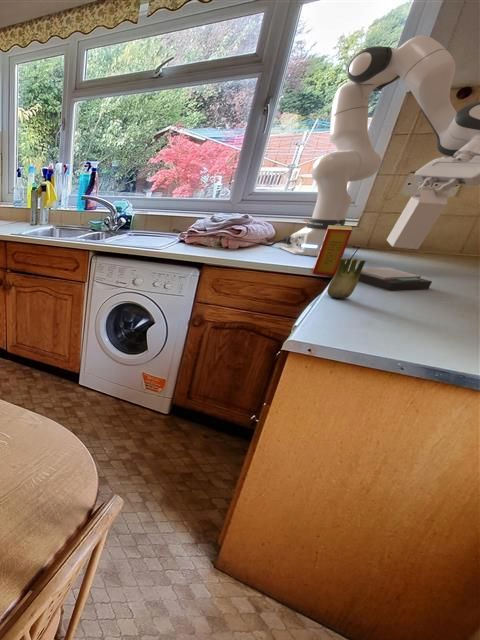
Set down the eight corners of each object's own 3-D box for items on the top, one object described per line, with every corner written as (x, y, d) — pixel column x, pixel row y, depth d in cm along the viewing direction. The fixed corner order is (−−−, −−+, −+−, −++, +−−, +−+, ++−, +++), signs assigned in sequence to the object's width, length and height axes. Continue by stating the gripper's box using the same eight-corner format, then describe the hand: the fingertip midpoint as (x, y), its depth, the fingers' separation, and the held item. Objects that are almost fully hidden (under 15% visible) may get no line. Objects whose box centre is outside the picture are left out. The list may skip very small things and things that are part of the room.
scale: (347, 277, 151) (351, 268, 150) (383, 276, 151) (387, 267, 150) (388, 290, 137) (393, 280, 135) (428, 289, 137) (433, 278, 136)
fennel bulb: (352, 298, 131) (368, 258, 125) (345, 301, 129) (361, 261, 123) (330, 294, 135) (344, 255, 130) (322, 297, 133) (337, 257, 127)
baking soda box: (334, 275, 154) (352, 228, 146) (312, 273, 157) (328, 227, 150) (334, 270, 161) (351, 225, 153) (313, 268, 164) (328, 224, 156)
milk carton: (417, 249, 147) (455, 190, 135) (392, 247, 149) (426, 188, 137) (410, 242, 152) (446, 185, 140) (385, 240, 154) (418, 183, 142)
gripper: (437, 149, 144) (395, 182, 148) (506, 148, 126) (457, 186, 130) (443, 163, 146) (402, 195, 151) (512, 165, 128) (463, 202, 133)
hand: (428, 191), depth 140 cm, fingers closed on milk carton, 4 cm apart
